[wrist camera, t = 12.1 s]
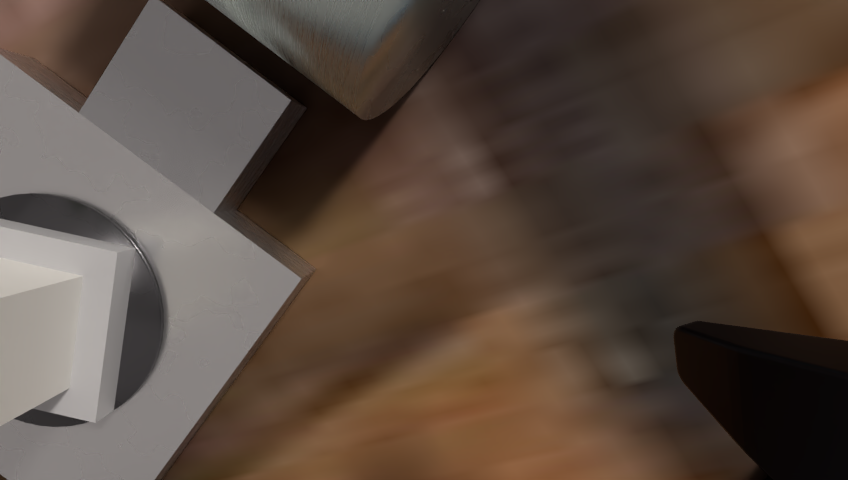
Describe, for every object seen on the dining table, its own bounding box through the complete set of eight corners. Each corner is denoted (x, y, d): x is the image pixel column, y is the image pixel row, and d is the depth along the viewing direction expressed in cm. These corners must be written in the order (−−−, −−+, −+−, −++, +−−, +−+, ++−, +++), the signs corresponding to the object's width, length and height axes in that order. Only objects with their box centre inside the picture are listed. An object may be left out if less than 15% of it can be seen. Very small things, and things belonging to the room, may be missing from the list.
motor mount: (566, -72, 18) (707, -373, 8) (135, 514, 22) (-122, 790, 12) (212, -353, 18) (-93, -1036, 8) (-167, 299, 21) (-695, 403, 12)
